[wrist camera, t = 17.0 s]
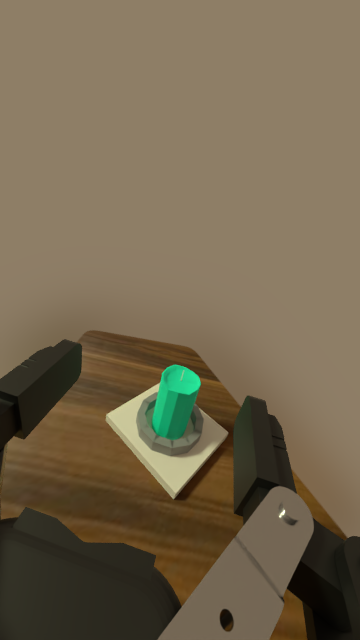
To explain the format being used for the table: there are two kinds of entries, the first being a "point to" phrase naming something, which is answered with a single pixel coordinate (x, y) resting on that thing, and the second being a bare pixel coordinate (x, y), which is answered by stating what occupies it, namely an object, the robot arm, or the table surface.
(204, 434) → the jig plate
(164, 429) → the candle
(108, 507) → the table surface
